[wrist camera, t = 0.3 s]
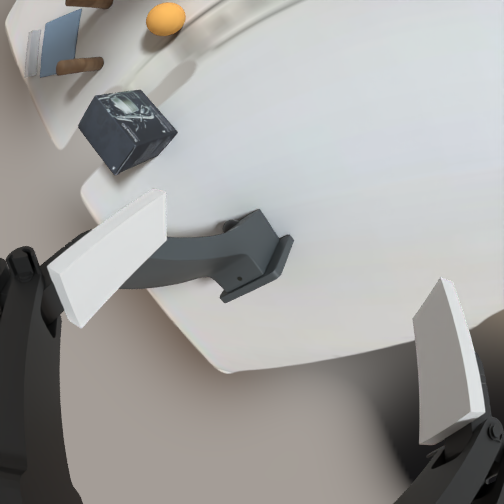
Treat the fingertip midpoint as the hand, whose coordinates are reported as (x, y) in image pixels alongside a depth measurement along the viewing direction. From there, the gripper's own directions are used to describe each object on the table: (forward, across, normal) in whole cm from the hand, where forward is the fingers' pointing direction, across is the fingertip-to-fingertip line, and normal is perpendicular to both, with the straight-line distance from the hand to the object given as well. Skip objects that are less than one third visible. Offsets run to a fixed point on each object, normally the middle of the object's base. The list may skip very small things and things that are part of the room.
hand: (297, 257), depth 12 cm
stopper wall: (+27, -66, +16) cm, 73 cm away
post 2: (+27, -41, +9) cm, 50 cm away
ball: (+24, -25, +15) cm, 38 cm away
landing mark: (+27, -56, +15) cm, 64 cm away
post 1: (+27, -41, +22) cm, 53 cm away
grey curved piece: (+27, -11, -14) cm, 32 cm away
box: (+27, -28, -2) cm, 39 cm away
